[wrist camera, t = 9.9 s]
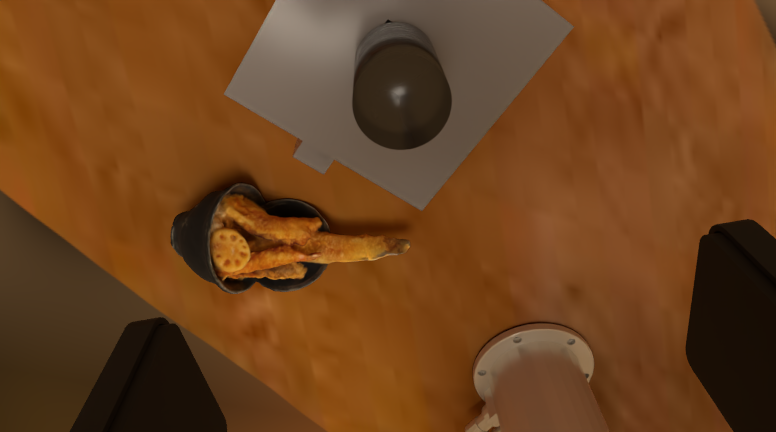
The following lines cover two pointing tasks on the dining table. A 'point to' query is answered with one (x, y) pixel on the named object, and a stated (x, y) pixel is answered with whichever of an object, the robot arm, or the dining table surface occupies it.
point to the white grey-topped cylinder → (336, 74)
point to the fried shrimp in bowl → (266, 241)
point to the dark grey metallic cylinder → (399, 87)
